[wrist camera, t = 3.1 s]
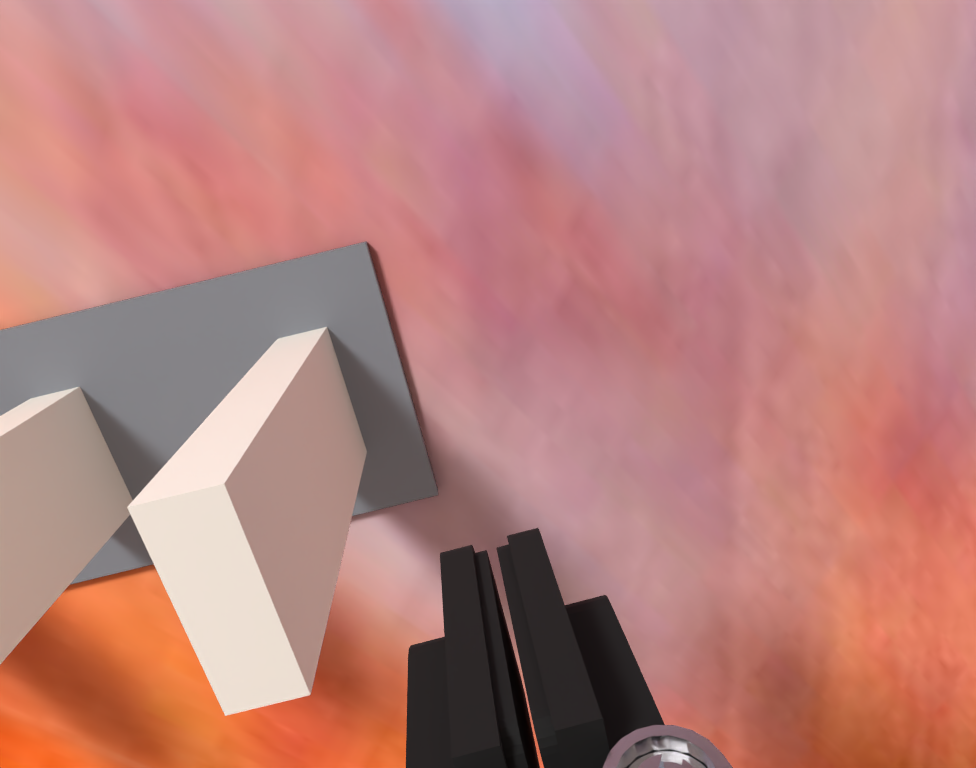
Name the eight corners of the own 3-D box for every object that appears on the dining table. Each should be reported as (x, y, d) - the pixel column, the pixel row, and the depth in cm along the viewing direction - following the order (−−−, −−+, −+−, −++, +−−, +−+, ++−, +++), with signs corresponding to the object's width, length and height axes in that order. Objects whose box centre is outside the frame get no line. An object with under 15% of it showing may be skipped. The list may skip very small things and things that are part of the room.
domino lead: (326, 326, 23) (224, 483, 12) (366, 451, 25) (310, 695, 13) (277, 338, 23) (127, 507, 12) (320, 462, 25) (225, 715, 13)
